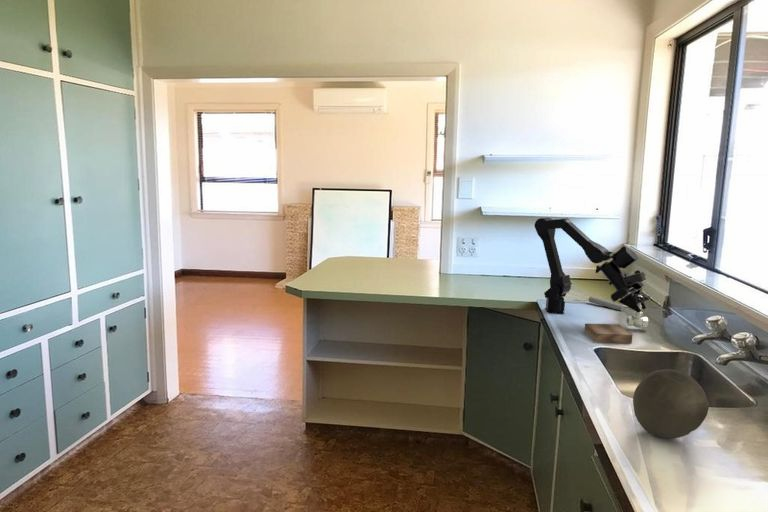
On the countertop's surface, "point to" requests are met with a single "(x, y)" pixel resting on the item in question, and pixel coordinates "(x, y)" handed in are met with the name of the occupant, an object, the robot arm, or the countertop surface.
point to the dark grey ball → (669, 404)
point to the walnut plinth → (608, 333)
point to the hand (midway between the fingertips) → (642, 310)
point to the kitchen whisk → (601, 302)
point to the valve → (638, 313)
